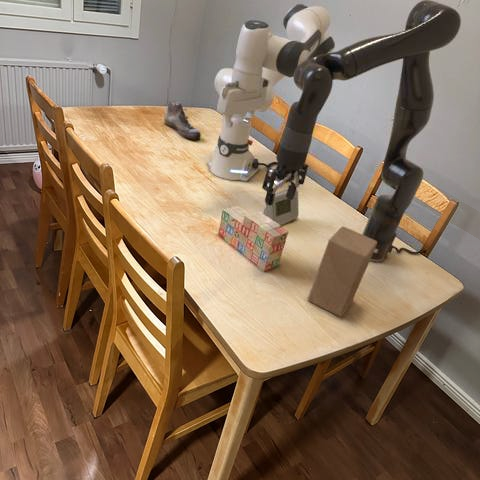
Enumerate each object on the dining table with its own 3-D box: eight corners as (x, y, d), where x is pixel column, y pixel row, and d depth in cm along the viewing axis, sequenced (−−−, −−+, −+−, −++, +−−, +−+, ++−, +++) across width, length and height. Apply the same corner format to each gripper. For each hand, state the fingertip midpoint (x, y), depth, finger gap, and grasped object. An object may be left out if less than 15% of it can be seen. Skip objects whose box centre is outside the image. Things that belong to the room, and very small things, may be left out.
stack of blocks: (217, 234, 138) (224, 200, 132) (231, 230, 142) (239, 196, 136) (264, 272, 127) (274, 236, 120) (278, 265, 131) (289, 231, 124)
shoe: (204, 141, 203) (208, 115, 196) (182, 142, 197) (185, 115, 190) (182, 121, 220) (185, 97, 213) (161, 121, 214) (164, 96, 207)
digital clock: (267, 230, 146) (275, 202, 140) (252, 217, 152) (258, 189, 146) (303, 223, 155) (312, 197, 149) (287, 210, 161) (295, 184, 155)
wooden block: (340, 318, 116) (366, 256, 105) (306, 300, 119) (328, 239, 108) (352, 300, 123) (378, 241, 113) (320, 283, 127) (342, 225, 116)
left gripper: (233, 86, 123) (225, 133, 131) (272, 81, 138) (263, 123, 146) (216, 79, 126) (209, 126, 134) (256, 75, 141) (248, 117, 148)
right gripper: (286, 154, 104) (271, 213, 113) (323, 148, 114) (305, 202, 122) (264, 142, 109) (251, 199, 117) (301, 137, 118) (286, 190, 126)
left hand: (237, 124), depth 140 cm, fingers open, 8 cm apart
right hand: (279, 201), depth 120 cm, fingers open, 8 cm apart
